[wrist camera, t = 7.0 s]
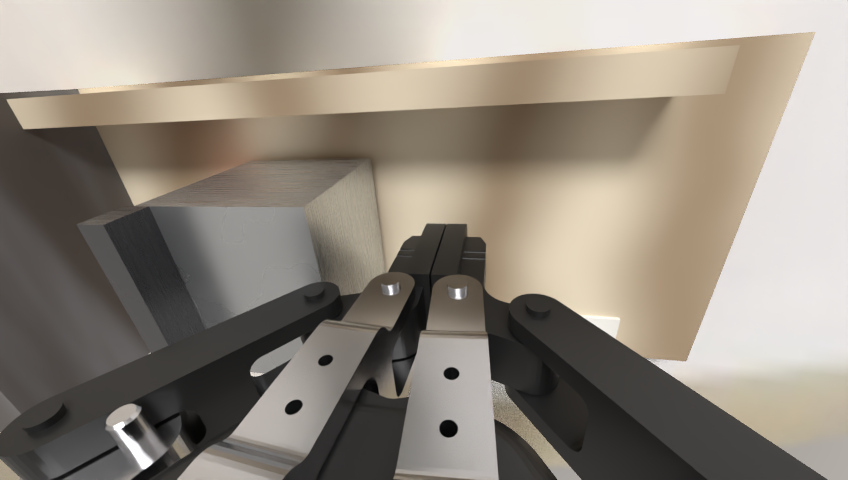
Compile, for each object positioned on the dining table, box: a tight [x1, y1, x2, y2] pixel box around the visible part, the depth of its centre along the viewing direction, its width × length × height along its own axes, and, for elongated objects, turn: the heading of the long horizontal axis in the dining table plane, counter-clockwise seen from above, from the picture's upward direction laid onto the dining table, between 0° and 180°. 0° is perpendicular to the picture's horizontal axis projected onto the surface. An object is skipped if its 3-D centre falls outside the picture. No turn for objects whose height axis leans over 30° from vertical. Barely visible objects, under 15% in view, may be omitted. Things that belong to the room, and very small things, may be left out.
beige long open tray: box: [0, 32, 815, 432], centre depth 12 cm, size 28×12×8 cm, turn 94°
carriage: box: [76, 158, 386, 373], centre depth 12 cm, size 5×6×6 cm
